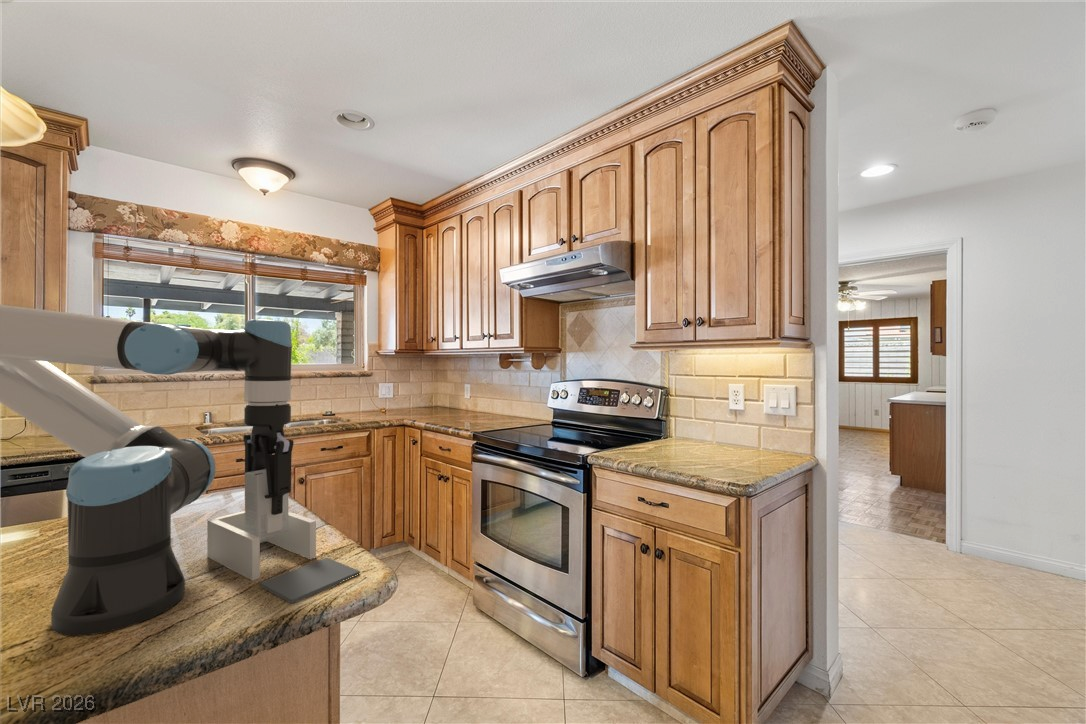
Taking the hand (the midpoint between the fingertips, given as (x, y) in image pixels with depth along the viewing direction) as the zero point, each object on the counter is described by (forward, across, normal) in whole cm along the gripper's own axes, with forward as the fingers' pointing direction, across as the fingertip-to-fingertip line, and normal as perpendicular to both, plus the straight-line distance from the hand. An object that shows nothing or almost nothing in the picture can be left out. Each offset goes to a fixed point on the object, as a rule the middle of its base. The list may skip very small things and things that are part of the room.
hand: (266, 527), depth 89 cm
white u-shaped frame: (+6, +2, 0) cm, 7 cm away
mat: (+6, -14, 0) cm, 16 cm away
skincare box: (+1, 0, 0) cm, 2 cm away
